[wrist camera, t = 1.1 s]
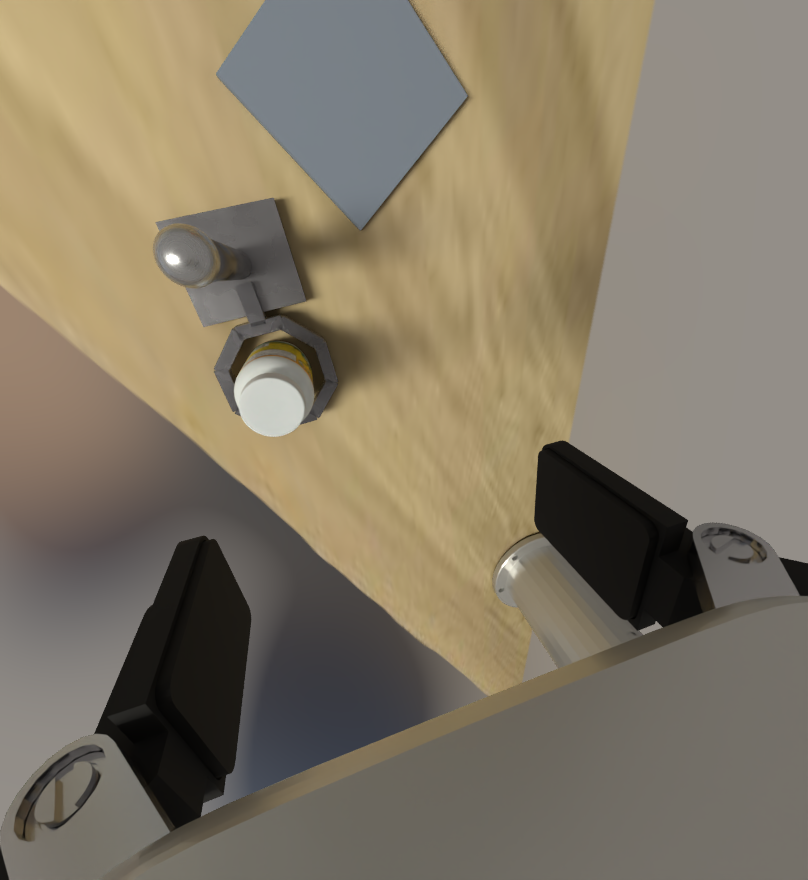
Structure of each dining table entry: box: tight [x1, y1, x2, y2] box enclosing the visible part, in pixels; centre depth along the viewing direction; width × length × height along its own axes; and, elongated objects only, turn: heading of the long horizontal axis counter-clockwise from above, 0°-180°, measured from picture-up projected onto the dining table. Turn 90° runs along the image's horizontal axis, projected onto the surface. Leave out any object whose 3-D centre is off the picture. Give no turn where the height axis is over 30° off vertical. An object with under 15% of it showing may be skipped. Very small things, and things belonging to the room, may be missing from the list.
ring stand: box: [153, 198, 338, 425], centre depth 23 cm, size 16×9×15 cm, turn 13°
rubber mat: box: [216, 0, 468, 230], centre depth 25 cm, size 12×12×1 cm
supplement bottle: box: [234, 341, 314, 437], centre depth 27 cm, size 5×5×10 cm
